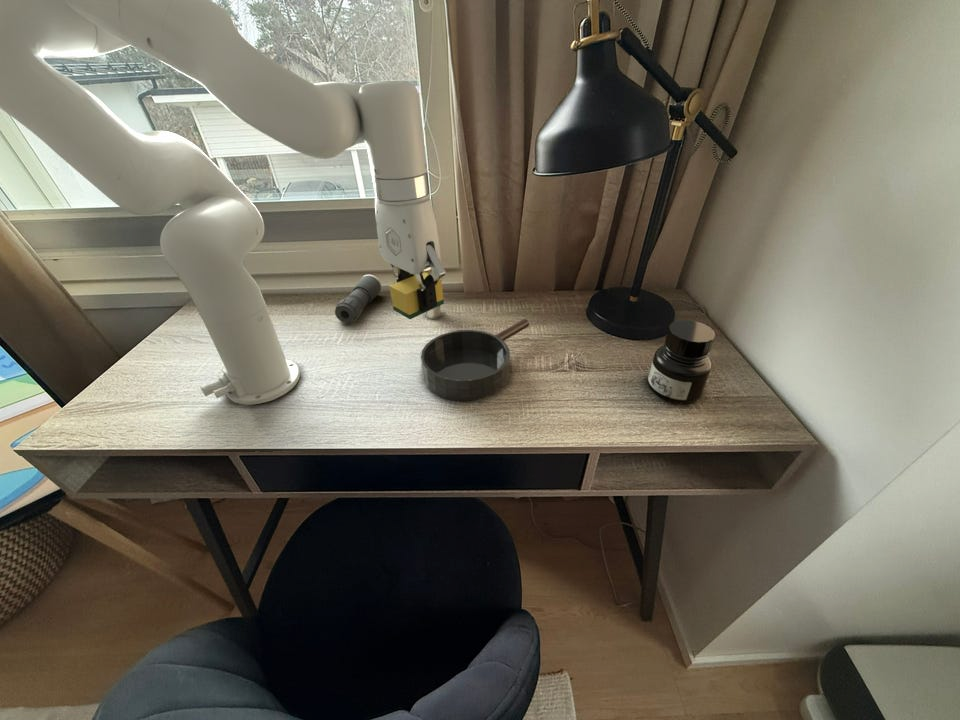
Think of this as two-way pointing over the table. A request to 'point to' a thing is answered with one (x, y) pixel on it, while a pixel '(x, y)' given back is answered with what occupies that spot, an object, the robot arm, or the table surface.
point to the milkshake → (434, 312)
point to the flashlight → (358, 299)
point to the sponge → (411, 296)
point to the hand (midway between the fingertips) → (418, 302)
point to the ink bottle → (682, 362)
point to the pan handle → (513, 329)
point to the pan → (465, 365)
